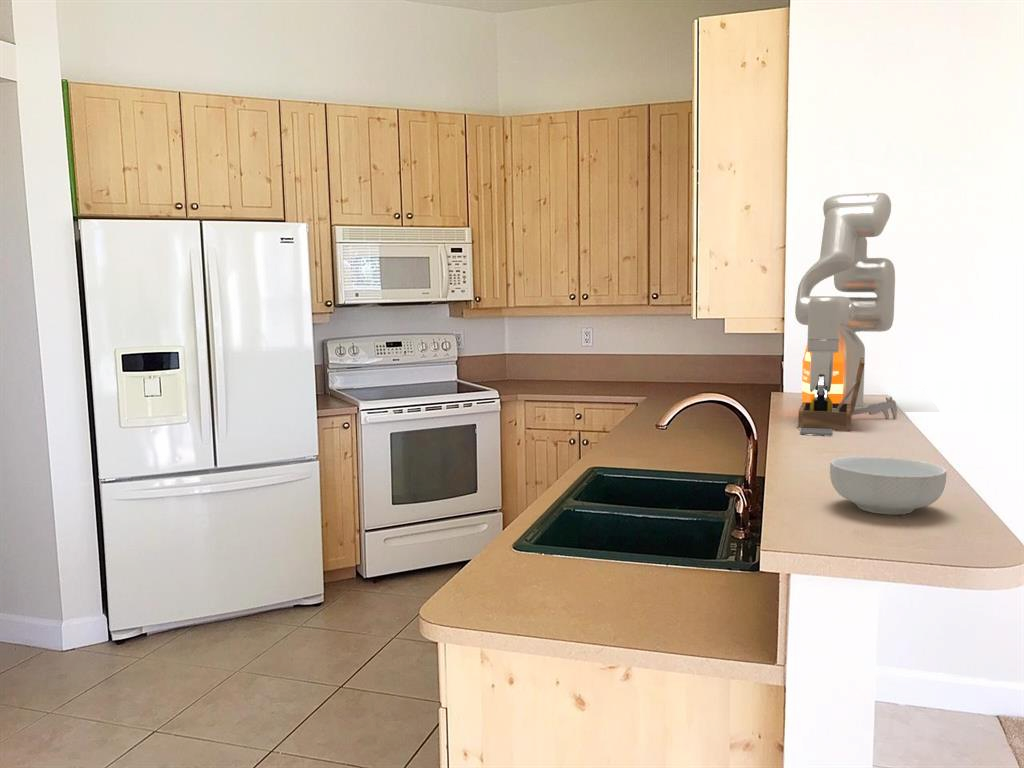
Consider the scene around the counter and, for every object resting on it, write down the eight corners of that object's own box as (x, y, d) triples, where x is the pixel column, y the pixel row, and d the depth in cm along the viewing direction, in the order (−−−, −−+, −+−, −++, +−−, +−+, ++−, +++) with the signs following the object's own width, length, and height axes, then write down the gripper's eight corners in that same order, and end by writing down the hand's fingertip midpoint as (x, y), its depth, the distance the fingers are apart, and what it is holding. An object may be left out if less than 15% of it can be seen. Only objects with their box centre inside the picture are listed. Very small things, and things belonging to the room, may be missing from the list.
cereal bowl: (959, 525, 128) (962, 477, 128) (839, 520, 131) (841, 474, 131) (926, 498, 145) (928, 455, 144) (820, 494, 148) (821, 453, 147)
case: (802, 418, 234) (803, 356, 232) (861, 421, 228) (863, 357, 227) (798, 429, 217) (799, 361, 215) (862, 432, 211) (864, 363, 210)
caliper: (895, 419, 233) (895, 396, 232) (896, 420, 231) (897, 396, 231) (816, 419, 234) (816, 396, 233) (817, 420, 232) (818, 396, 232)
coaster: (801, 430, 215) (801, 427, 215) (832, 431, 213) (832, 429, 213) (800, 434, 209) (800, 432, 209) (831, 436, 206) (831, 433, 206)
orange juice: (842, 415, 239) (844, 341, 237) (809, 415, 239) (811, 342, 237) (832, 411, 247) (834, 340, 245) (800, 411, 247) (802, 340, 245)
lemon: (805, 425, 223) (806, 393, 222) (815, 422, 227) (815, 391, 226) (827, 427, 220) (827, 395, 219) (836, 424, 224) (837, 393, 223)
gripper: (808, 344, 231) (807, 409, 232) (805, 348, 215) (803, 418, 216) (839, 345, 228) (837, 411, 230) (838, 348, 212) (836, 419, 213)
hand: (821, 414), depth 223 cm, fingers open, 9 cm apart
